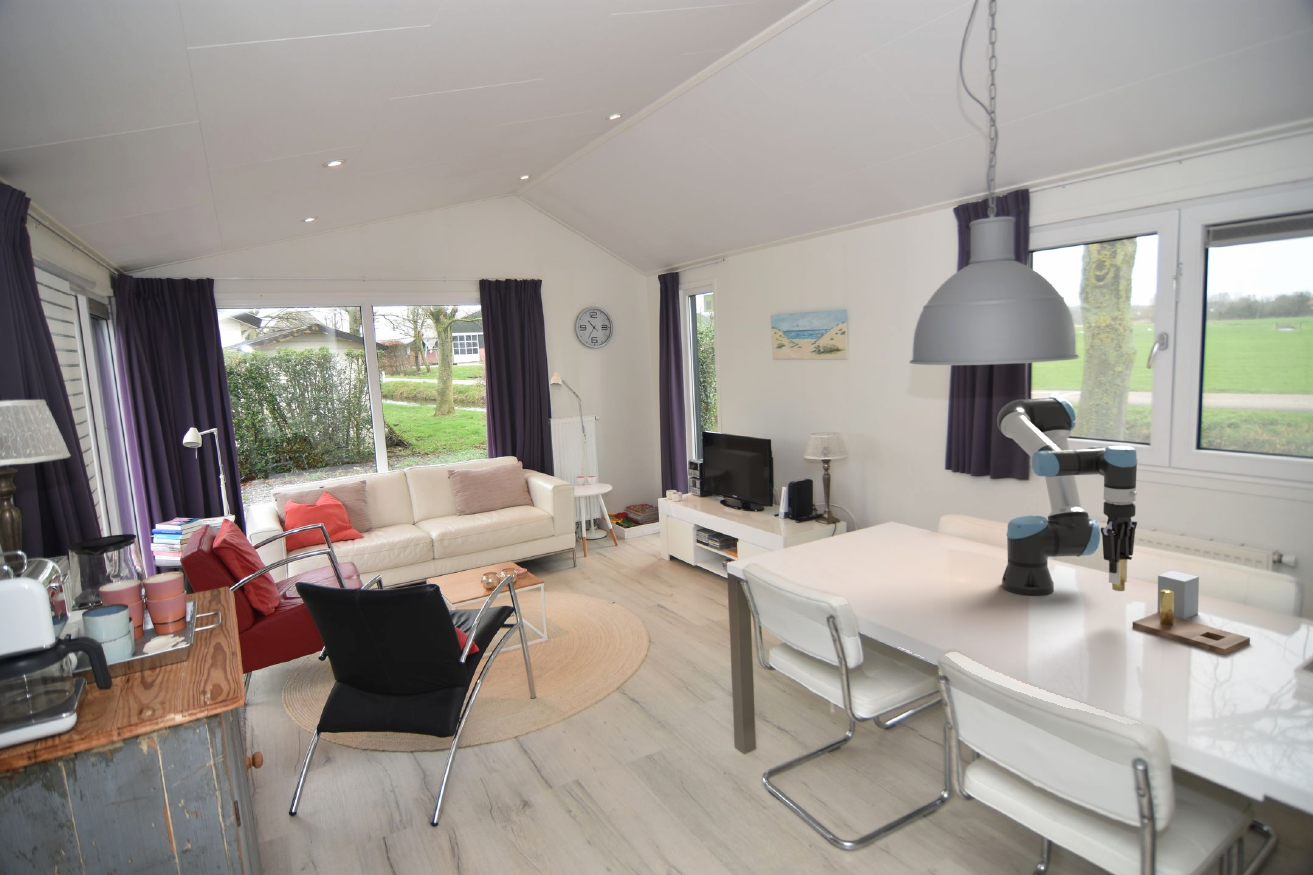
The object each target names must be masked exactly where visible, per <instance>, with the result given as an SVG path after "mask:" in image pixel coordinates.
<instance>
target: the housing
mask: <svg viewBox="0 0 1313 875" xmlns="http://www.w3.org/2000/svg"><path fill="white" fill-rule="evenodd" d="M1199 580H1200V577H1199V576H1198V575H1197V576H1196V575H1192V574H1189V573H1188V574H1187V573H1183V572H1180V571H1175V570H1169V571H1167V572H1164V573H1161V574H1158V575H1157V613H1160V591H1161V590H1170V591H1173V592H1174V617H1176V618H1180V619H1183V620H1186V619H1189V618H1191V617H1194V616H1197V615H1199V589H1200V588H1199V586H1200V585H1199V584H1200V583H1199Z"/></svg>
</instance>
